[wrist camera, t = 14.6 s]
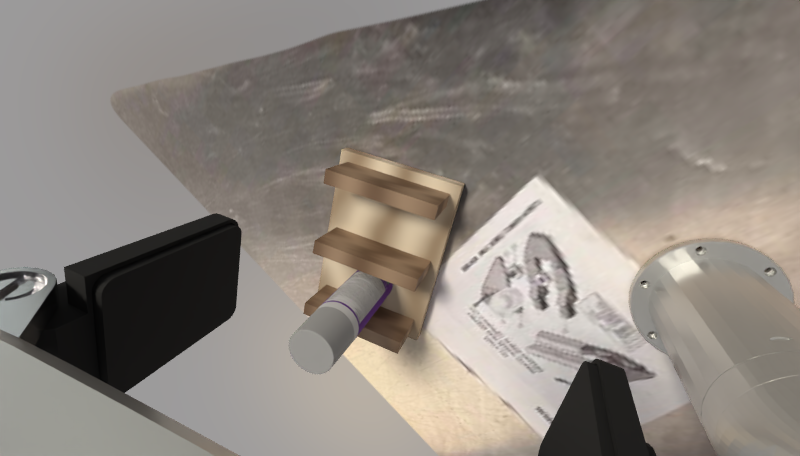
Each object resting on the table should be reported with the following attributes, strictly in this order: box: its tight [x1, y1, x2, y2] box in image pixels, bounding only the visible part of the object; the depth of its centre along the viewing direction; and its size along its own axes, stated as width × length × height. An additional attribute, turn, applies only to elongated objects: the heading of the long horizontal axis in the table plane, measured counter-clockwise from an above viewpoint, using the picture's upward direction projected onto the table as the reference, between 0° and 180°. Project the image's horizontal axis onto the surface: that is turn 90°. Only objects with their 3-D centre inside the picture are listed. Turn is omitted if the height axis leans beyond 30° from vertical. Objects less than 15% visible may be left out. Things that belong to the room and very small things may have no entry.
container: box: [289, 270, 394, 374], centre depth 41 cm, size 5×5×15 cm
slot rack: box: [304, 148, 465, 354], centre depth 45 cm, size 14×20×6 cm
